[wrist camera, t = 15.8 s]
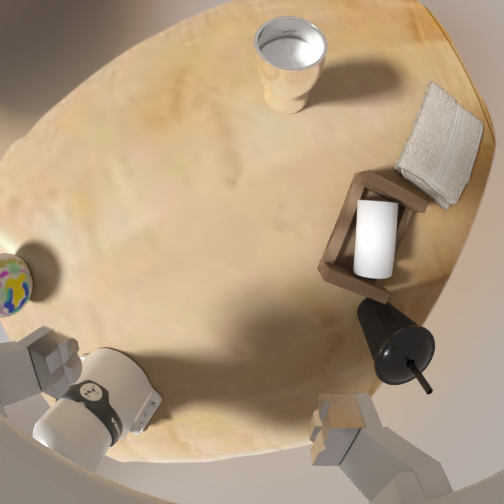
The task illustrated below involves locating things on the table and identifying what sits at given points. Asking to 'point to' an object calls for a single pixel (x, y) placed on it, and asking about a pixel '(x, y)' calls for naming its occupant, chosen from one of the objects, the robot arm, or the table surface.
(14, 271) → the decorative egg
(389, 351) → the drinking cup
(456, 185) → the washcloth
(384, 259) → the roll
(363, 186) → the cradle
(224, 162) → the table surface
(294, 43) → the silver tumbler
